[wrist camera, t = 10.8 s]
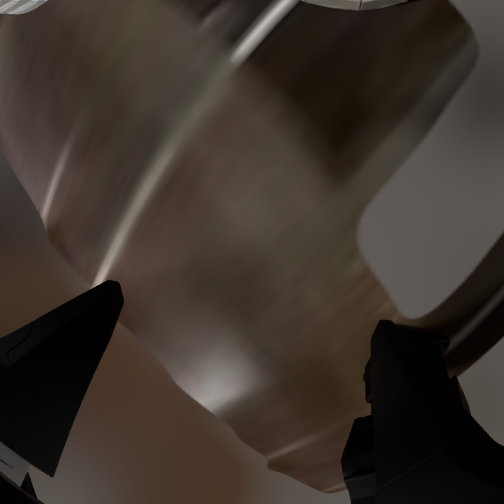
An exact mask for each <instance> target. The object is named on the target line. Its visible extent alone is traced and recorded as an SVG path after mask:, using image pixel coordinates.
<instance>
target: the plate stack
mask: <svg viewBox="0 0 504 504" xmlns="http://www.w3.org/2000/svg"><path fill="white" fill-rule="evenodd" d="M46 1H48V0H0V14H3V13H8V14H23V13H26V12H29V11H31V10H33V9H35V8H37V7H39V6H40V5H42V4H43V3H45V2H46Z"/></svg>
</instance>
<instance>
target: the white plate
mask: <svg viewBox="0 0 504 504" xmlns="http://www.w3.org/2000/svg"><path fill="white" fill-rule="evenodd" d="M301 1H304V2H307V3H310V4H314V5H318V6H322V7H327V8H332V9H341V10H356V11H362V10H375V9H382V8H386V7H390V6H394V5H396V4H399V3H403V2H406V1H408V0H301Z"/></svg>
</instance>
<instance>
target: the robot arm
mask: <svg viewBox="0 0 504 504" xmlns="http://www.w3.org/2000/svg"><path fill="white" fill-rule="evenodd" d="M123 304H124V298H123V294H122V290H121V286H120V284H119V282H117V281H113V280H107V281H105V282H103V283H101V284H100V285H98V286H96V287H94V288H92V289H90V290H88V291H86V292H85V293H83V294H81V295H79V296H77V297H75V298H73V299H72V300H70V301H68V302H66V303H64V304H63V305H61V306H59V307H57V308H55V309H54V310H52V311H50V312H48V313H46V314H45V315H43V316H41V317H39V318H38V319H36V320H34V322H33V321H32V322H30V323H29V324H27V325H25V326H23V327H22V328H20V329H18V330H16V331H14V332H12V333H10V334H8V335H6V336H4V337H2V338H0V504H44V503H43V502H41V501H40V500H38V499H37V496H36V494H35V491H34V488H33V485H32V482H31V478H30V475H29V473H28V472H27V471H28V469H29V467H30V464H32V465H33V466H35V467H36V468H38V469H39V470H41V471H42V472H44V473H45V474H47V475H49V476H50V477H52V478H53V476H54V474H55V471H56V468H57V466H58V463H59V460H60V457H61V454H62V452H63V449H64V446H65V443H66V441H67V438H68V435H69V431H70V430H71V427H72V425H73V422H74V420H75V417H76V414H77V412H78V410H79V408H80V405H81V403H82V400H83V398H84V396H85V393H86V391H87V389H88V386H89V384H90V382H91V380H92V377H93V375H94V373H95V371H96V369H97V367H98V364H99V362H100V360H101V358H102V356H103V354H104V352H105V350H106V347H107V345H108V343H109V341H110V338H111V336H112V333H113V331H114V328H115V326H116V323H117V320H118V318H119V315H120V312H121V310H122V307H123ZM445 342H446V343H445ZM443 343H444V344H443ZM449 345H450V340H449V338H448V337H443V336H437V335H431V334H425V333H419V332H414V331H408V330H403V329H399V328H398V327H397V326H396V325H395V324H394V323H393V322H392V321H391V320H380V321H379V322H378V324H377V326H376V329H375V331H374V333H373V335H372V338H371V357H370V359H369V361H368V363H367V365H366V367H365V373H364V375H363V380H364V381H365V393H366V402H367V403H371V415H368V416H365V417H363V418H362V417H359V418H357V419H355V420H354V423H353V426H352V429H351V432H350V435H349V438H348V440H347V443H346V446H345V449H344V451H343V455H342V459H341V464H342V472H343V476H344V482H345V484H346V486H347V489H348V491H349V495H350V499H351V504H504V446H502V445H500V444H498V443H497V442H495V441H494V440H493V439H492V438H491V437H490V436H489V435H488V434H487V432H486V431H485V430H484V429H483V428H482V427H481V426H480V425H479V424H478V423H477V422H476V420H475V419H474V418H473V417H472V416H471V412H470V409H469V405H468V402H467V400H466V397H465V395H464V392H463V390H462V388H461V386H460V383H459V381H458V379H457V376H456V375H455V376H453V377H451V378H450V380H449V377H448V373H447V370H446V366H445V363H444V359H443V355H444V353H445V352H446V350H447V348H448V347H449Z"/></svg>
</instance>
